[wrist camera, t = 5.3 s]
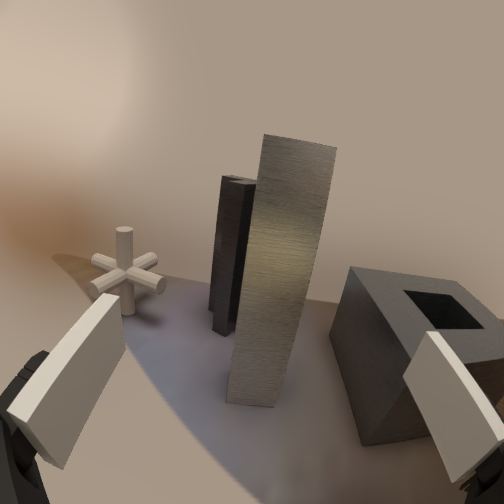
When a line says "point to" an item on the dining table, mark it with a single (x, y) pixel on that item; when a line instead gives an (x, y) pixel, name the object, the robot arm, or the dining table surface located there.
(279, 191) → the square bit
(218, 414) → the dining table surface
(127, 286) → the pipe connector
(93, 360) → the robot arm
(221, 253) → the cross bit
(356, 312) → the bore block
